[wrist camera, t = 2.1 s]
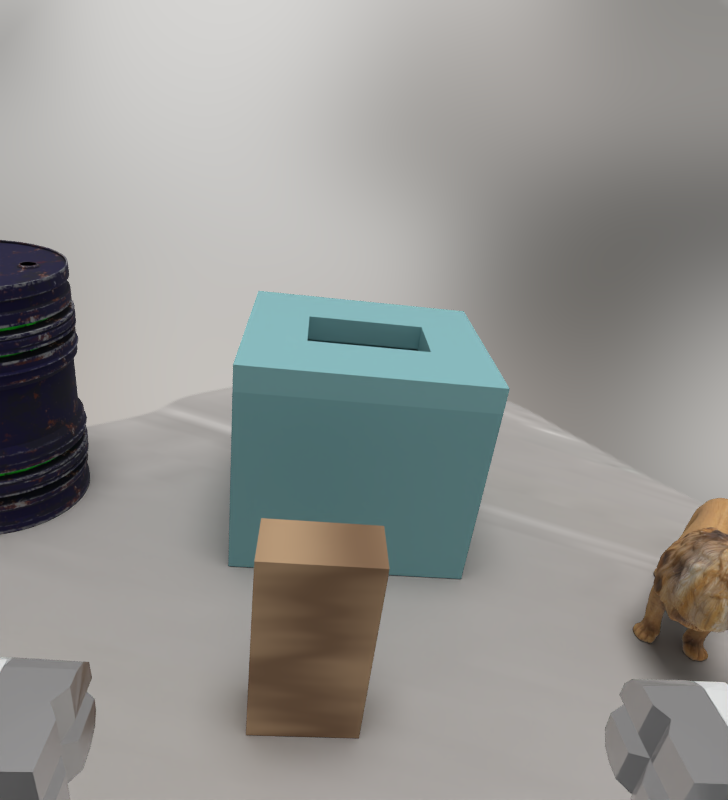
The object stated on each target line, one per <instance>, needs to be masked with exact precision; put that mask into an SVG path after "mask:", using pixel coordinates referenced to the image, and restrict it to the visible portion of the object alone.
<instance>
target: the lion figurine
mask: <svg viewBox="0 0 728 800" xmlns="http://www.w3.org/2000/svg"><path fill="white" fill-rule="evenodd" d="M654 575H655V580H654V585H653V587H652V589H651V592H650V595H649V600H648V603H647V607H646V613H645V616H644V618H643V620H642V621H641V622H640V623H637V624H635V625H634V627H633V631H634V634H635V635H636V636H637V637H638V638H639V639H640V640H642V641H644V642H647V643H652V642H653V641H654V640H655V638H656V636H658V635H659V633H660V628H661V620H662V617H663V614H664V612H665V610H666V612H667V613H668V616H669V618H670V619H671V620H673V621H677V622H679V623H680V624H682V625H683V626H685V627H687V628H688V629H687V630H686V632H685V633H684V634H683V636H682V641H683V651H684V653H685V655H686V656H688V657H689V658H691V659H692V660H697V661H702V660H705V659H707V658H708V654H707V652H706V650H705V649H704V647H703V642H704V640H705V638H706V636H707V635H708V634H709V633H710V632H711V631H713V632H718V633H719V632H724V631H725V630H728V499H725V498H717V499H712V500H709V501H707V502H706V503H705V504H703V505H702V506H700V507H699V508H698V509H697V510H696V511H695V513H694V514H693V516H692V518H691V520H690V521H689V523H688V525H687V526H686V528H685V530H684V532H683V534H682V535H681V537H680V538H679V539H678V540H677V541H676V542H674V543H673V544H672V545H671V546H670V547H669V548H668V549H667V550H666V551H665V552H664V553H663V554H662V556H661V558H660V561H659V563H658V565H657V568H656V569H655V571H654Z"/></svg>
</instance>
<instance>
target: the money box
mask: <svg viewBox="0 0 728 800" xmlns="http://www.w3.org/2000/svg"><path fill="white" fill-rule="evenodd" d="M508 393H509V387H508V385H507V384H506V382H505V380H504V379H503V377H502V375H501V374H500V372H499V370H498V369H497V367H496V365H495V363H494V362H493V360H492V358H491V357H490V355H489V353H488V352H487V350H486V348H485V346H484V345H483V343H482V341H481V340H480V338H479V336H478V335H477V333H476V331H475V330H474V328H473V326H472V325H471V323H470V321H469V320H468V318H467V316H466V315H465V313H464V311H454V310H444V309H434V308H424V307H414V306H404V305H394V304H384V303H374V302H364V301H354V300H344V299H334V298H324V297H314V296H303V295H294V294H284V293H274V292H264V291H259V292H258V294H257V297H256V300H255V303H254V306H253V309H252V312H251V315H250V317H249V320H248V323H247V326H246V329H245V332H244V335H243V338H242V341H241V343H240V346H239V349H238V352H237V355H236V358H235V361H234V364H233V394H232V437H231V479H230V521H229V564H228V566H236V567H254V560H255V554H256V548H257V542H258V535H259V529H260V523H261V518H267V519H283V520H299V521H315V522H331V523H347V524H362V525H378V526H384V528H385V536H386V544H387V552H388V560H389V568H390V569H389V575H400V576H418V577H437V578H455V579H461V577H462V573H463V569H464V565H465V561H466V557H467V553H468V550H469V546H470V542H471V538H472V534H473V530H474V526H475V522H476V518H477V514H478V510H479V507H480V503H481V499H482V495H483V491H484V487H485V483H486V479H487V475H488V471H489V467H490V464H491V460H492V456H493V452H494V448H495V444H496V440H497V436H498V432H499V428H500V424H501V420H502V417H503V413H504V409H505V405H506V401H507V397H508Z"/></svg>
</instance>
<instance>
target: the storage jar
mask: <svg viewBox="0 0 728 800" xmlns="http://www.w3.org/2000/svg"><path fill="white" fill-rule="evenodd" d="M68 277H69V270H68V262H67V259H66V257H65V256H64V255H63V254H61V253H59V252H57V251H55V250H52V249H50V248H46V247H43V246H39V245H34V244H29V243H23V242H15V241H6V240H0V534H5V533H10V532H15V531H20V530H23V529H27V528H30V527H34V526H36V525H39V524H42V523H44V522H47V521H49V520H51V519H53V518H55V517H57V516H59V515H60V514H62V513H64V512H65V511H67V510H68V509H70V508H71V507H72V506H73V505H75V504H76V503H77V502H78V501H79V500H80V499H81V498H82V497H83V495H84V494H85V492H86V490H87V488H88V486H89V483H90V472H89V467H88V464H87V460H88V453H87V451H88V444H89V443H88V434H87V428H86V425H85V424H86V418H87V417H86V413H85V411H84V407H83V404H82V402H81V400H80V399H79V398H78V396H77V386H76V377H75V367H74V356H75V355H76V353H77V343H78V336H77V334H76V331H75V323H76V318H75V309H74V303H73V301H72V300H71V289H70V284H69V282H68V281H67V279H68Z"/></svg>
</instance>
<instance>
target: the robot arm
mask: <svg viewBox="0 0 728 800" xmlns="http://www.w3.org/2000/svg"><path fill="white" fill-rule="evenodd" d="M91 679H92V676H91V670H90V665H89V662H78V661H61V660H45V659H29V658H13V657H0V800H70V794H69V788H68V783H69V782H70V781H71V780H72V779H73V778H74V777H75V776H76V775H77V774H79V773H80V772H81V771H82V770H83V768H84V765H85V762H86V759H87V756H88V753H89V750H90V747H91V742H92V738H93V733H94V728H95V717H96V707H95V699H94V698H93V697H92V696H91V695H90V694H89V693H87V689H88V686H89V684H90V681H91ZM619 695H620V697H621V699H622V701H623V703H624V705H622V706H621V707H619V708H618V709H616V710H615V711H614V712H612V713H611V714H610V717H609V719H608V722H607V725H606V727H605V747H606V751H607V756H608V760H609V763H610V766H611V768H612V771H613V773H614V776H615V778H616V779H617V780H618V781H619V782H620V783H621V784H622V785H623V786H624V787H625V788H626V789H627V790H628V791H629V792H630V793H631V794H632V796H631V800H728V684H726V683H725V682H706V681H689V680H653V679H631V680H630V681H628V682H626V683H625V684H624V686H623V688H622V690H621V692H620V694H619Z"/></svg>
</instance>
